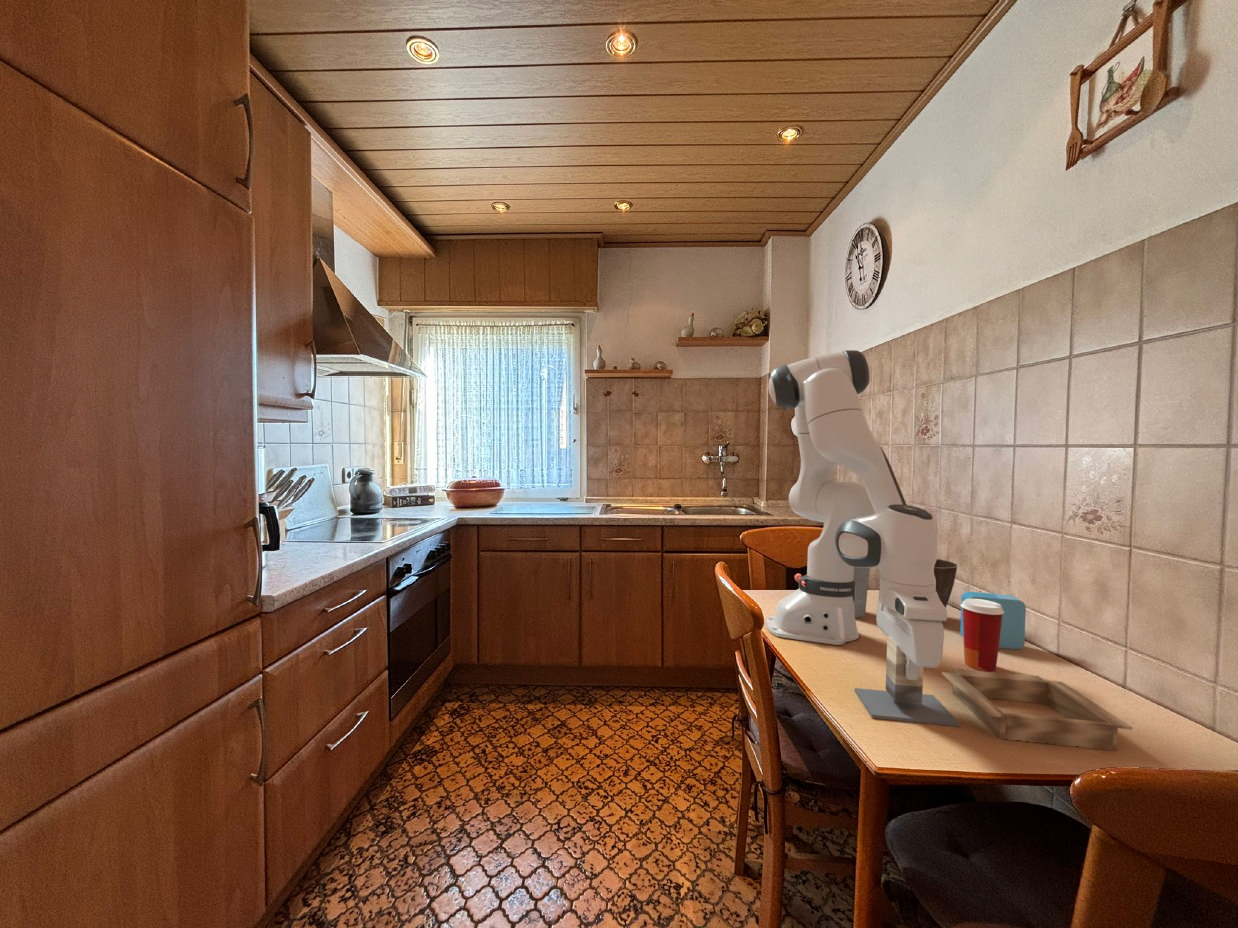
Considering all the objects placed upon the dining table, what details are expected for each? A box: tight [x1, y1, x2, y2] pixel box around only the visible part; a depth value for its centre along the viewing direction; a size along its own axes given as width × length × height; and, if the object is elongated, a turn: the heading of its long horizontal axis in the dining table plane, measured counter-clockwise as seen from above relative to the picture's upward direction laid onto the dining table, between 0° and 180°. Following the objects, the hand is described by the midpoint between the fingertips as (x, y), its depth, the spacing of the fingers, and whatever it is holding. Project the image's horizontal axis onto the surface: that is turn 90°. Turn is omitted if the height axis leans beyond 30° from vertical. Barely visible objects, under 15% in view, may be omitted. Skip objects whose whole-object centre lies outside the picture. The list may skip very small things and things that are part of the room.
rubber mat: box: [854, 687, 961, 727], centre depth 91 cm, size 14×10×1 cm
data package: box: [959, 591, 1027, 651], centre depth 123 cm, size 12×4×12 cm, turn 72°
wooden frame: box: [941, 668, 1133, 752], centre depth 89 cm, size 21×18×4 cm
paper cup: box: [960, 599, 1004, 672], centre depth 110 cm, size 8×8×14 cm
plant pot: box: [934, 558, 958, 609], centre depth 142 cm, size 15×15×16 cm
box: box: [885, 636, 924, 704], centre depth 91 cm, size 4×4×10 cm
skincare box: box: [854, 567, 871, 618], centre depth 146 cm, size 8×7×16 cm
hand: (903, 670), depth 91 cm, fingers closed on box, 4 cm apart
